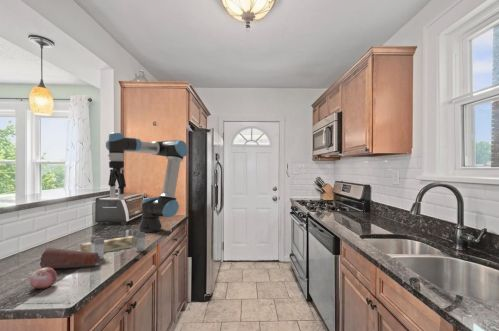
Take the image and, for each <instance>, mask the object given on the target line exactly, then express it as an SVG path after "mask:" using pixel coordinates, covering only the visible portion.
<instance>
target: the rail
mask: <svg viewBox="0 0 499 331" xmlns="http://www.w3.org/2000/svg"><path fill="white" fill-rule="evenodd" d="M90 245H91V241H90V242H83V243H80V249H79V250H80V251H87V252H90ZM128 245H132V235H129V236H122V237H116V238H110V239H104V250H105V249H110V248H116V247H122V246H128Z"/></svg>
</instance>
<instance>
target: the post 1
mask: <svg viewBox="0 0 499 331" xmlns="http://www.w3.org/2000/svg"><path fill="white" fill-rule="evenodd" d="M104 240H105V238H104V237H101V235H96V236H90V242H91V245H90V252H96V253H98V256H99V257H100V260H103V259H104V257H105V256H104V253H105V252H104Z"/></svg>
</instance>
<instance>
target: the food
mask: <svg viewBox="0 0 499 331" xmlns="http://www.w3.org/2000/svg"><path fill="white" fill-rule="evenodd" d="M100 260H101V259H100V257H99V256H98V253H96V252H87V251H78V250H75V249H72V250H71V249H65V248H64V249H62V248H56V247H47V248H46V249H45V250H44V252H42V254H41V257H40V262H39V265H40V269H41V268H46V267H48V268H52V269H54V270H56V269H61V270H62V268H63V269H76V268H77V269H78V268H87V267H93V266H95V265H96V264H98V262H99V261H100Z"/></svg>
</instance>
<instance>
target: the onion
mask: <svg viewBox="0 0 499 331" xmlns="http://www.w3.org/2000/svg"><path fill="white" fill-rule="evenodd" d="M57 279H58V274H57V272H56V269H52V268H48V267H46V268H41V267H40V268H39V269H37V270H35V271H34V272H33V273H32V274H31V276H30V279H29V284H30V286H31V287H32V288H33V289H37V290H40V291H42V290H41V289H43V290H44V289H48V288H50V287H51V286H52V285H54V284H55V282H56V281H57ZM49 286H50V287H49Z"/></svg>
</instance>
